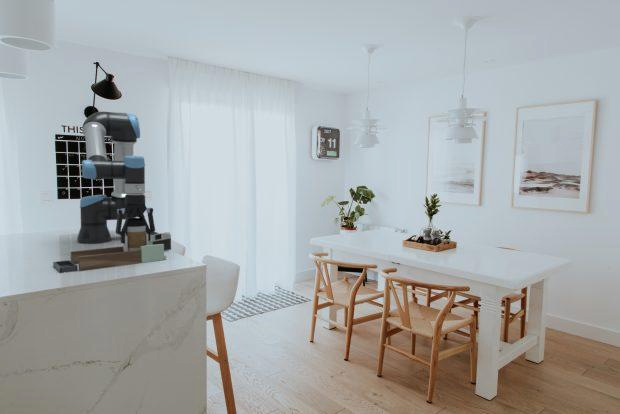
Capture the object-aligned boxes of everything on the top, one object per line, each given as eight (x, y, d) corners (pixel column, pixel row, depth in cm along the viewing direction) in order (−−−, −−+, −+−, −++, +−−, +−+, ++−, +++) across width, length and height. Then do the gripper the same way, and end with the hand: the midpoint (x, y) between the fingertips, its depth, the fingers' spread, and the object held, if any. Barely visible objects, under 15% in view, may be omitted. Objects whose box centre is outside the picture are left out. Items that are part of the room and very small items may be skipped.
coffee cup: (142, 252, 172) (141, 217, 171) (150, 255, 166) (150, 219, 165) (121, 255, 167) (121, 218, 165) (129, 258, 161) (128, 220, 159)
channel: (71, 264, 157) (70, 251, 156) (130, 257, 171) (130, 245, 171) (79, 270, 147) (79, 257, 146) (141, 262, 161) (141, 250, 161)
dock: (130, 257, 171) (129, 242, 171) (154, 254, 178) (153, 239, 178) (141, 262, 161) (141, 246, 161) (166, 259, 168) (166, 244, 168)
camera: (160, 248, 193) (160, 227, 192) (174, 249, 190) (174, 228, 189) (133, 254, 179) (132, 231, 178) (147, 256, 175) (147, 232, 174)
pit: (53, 266, 152) (53, 262, 152) (69, 264, 156) (69, 260, 156) (60, 273, 143) (59, 267, 143) (77, 270, 147) (77, 265, 147)
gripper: (110, 195, 155) (112, 254, 157) (163, 194, 168) (164, 248, 170) (105, 194, 160) (106, 251, 162) (156, 193, 174) (157, 246, 176)
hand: (136, 250), depth 166 cm, fingers closed on coffee cup, 7 cm apart
